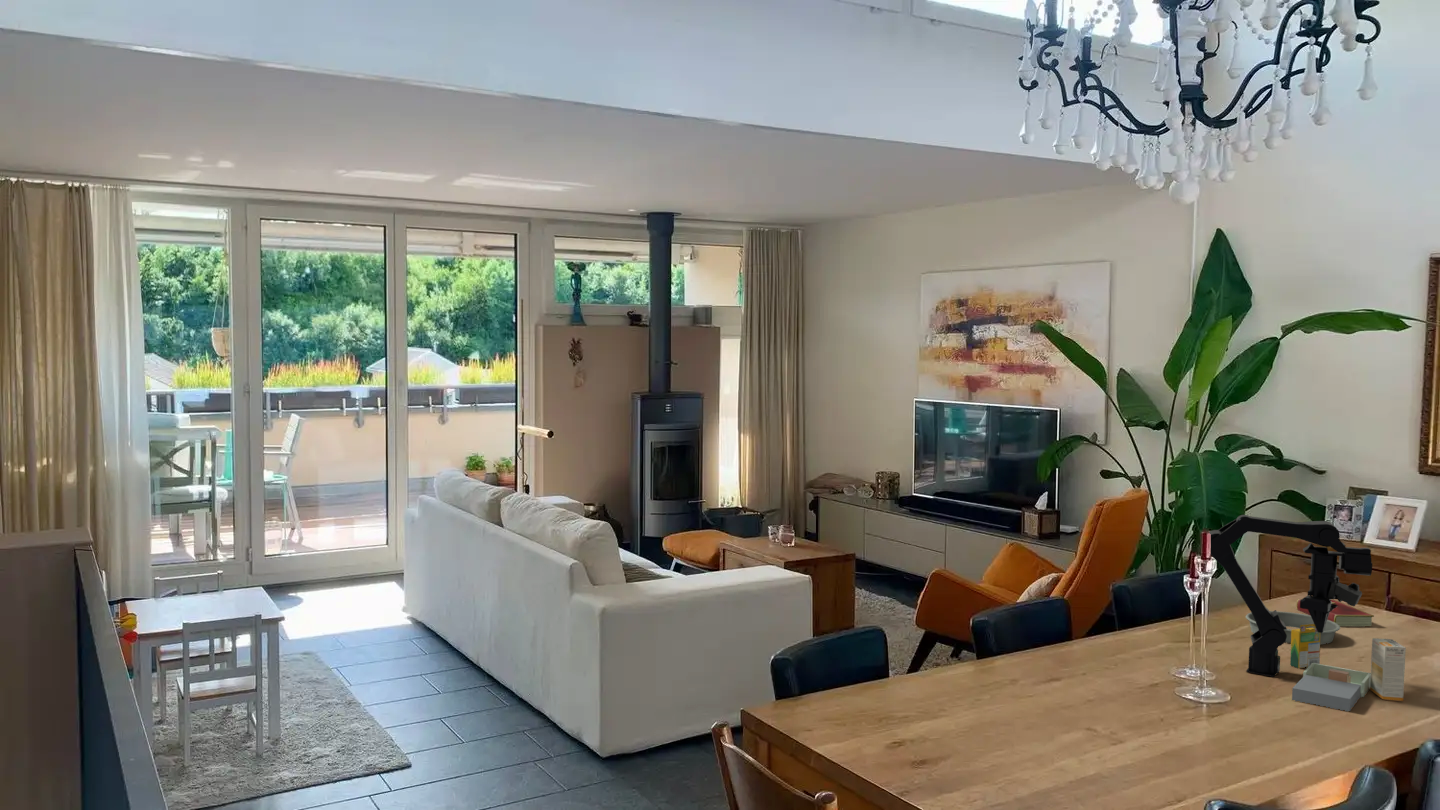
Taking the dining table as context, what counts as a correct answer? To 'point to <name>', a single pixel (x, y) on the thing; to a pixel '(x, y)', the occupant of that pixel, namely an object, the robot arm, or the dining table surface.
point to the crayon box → (1305, 646)
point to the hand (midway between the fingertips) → (1320, 632)
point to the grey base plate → (1326, 692)
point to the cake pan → (1296, 621)
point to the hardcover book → (1345, 615)
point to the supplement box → (1387, 669)
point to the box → (1356, 676)
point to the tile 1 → (1338, 675)
